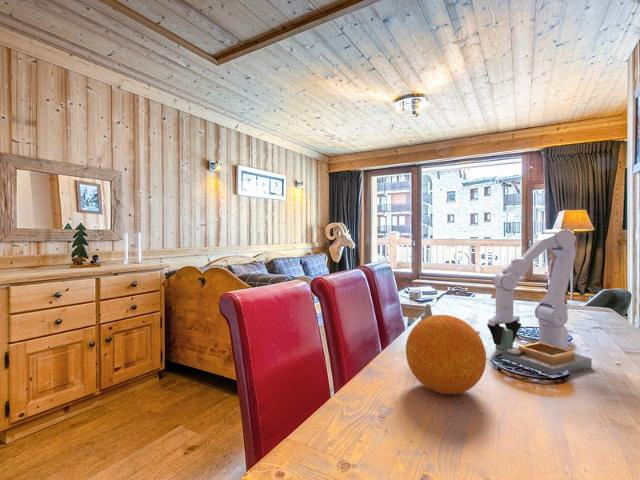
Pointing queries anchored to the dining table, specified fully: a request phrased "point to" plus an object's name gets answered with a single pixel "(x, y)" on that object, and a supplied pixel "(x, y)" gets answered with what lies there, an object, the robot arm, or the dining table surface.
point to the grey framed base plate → (547, 358)
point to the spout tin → (506, 340)
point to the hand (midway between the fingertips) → (504, 342)
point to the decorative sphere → (445, 354)
